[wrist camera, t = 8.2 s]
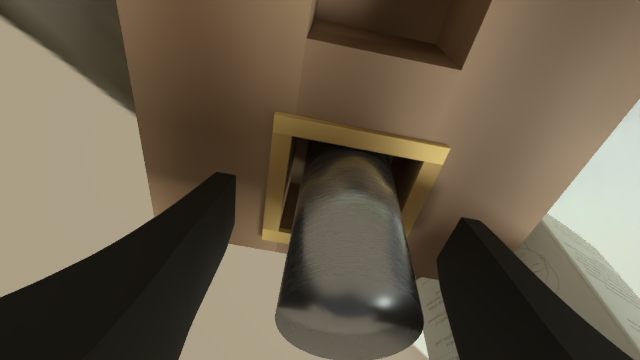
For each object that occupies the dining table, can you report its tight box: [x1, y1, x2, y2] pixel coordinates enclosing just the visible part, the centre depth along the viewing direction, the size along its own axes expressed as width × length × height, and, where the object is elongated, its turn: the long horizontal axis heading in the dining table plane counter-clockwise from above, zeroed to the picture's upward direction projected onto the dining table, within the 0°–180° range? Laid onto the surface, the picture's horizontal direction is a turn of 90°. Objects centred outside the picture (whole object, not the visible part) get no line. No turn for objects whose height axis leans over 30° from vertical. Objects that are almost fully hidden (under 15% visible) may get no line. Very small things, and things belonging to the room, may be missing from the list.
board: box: [116, 0, 640, 280], centre depth 11 cm, size 14×14×4 cm
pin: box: [275, 139, 424, 360], centre depth 10 cm, size 3×3×8 cm
